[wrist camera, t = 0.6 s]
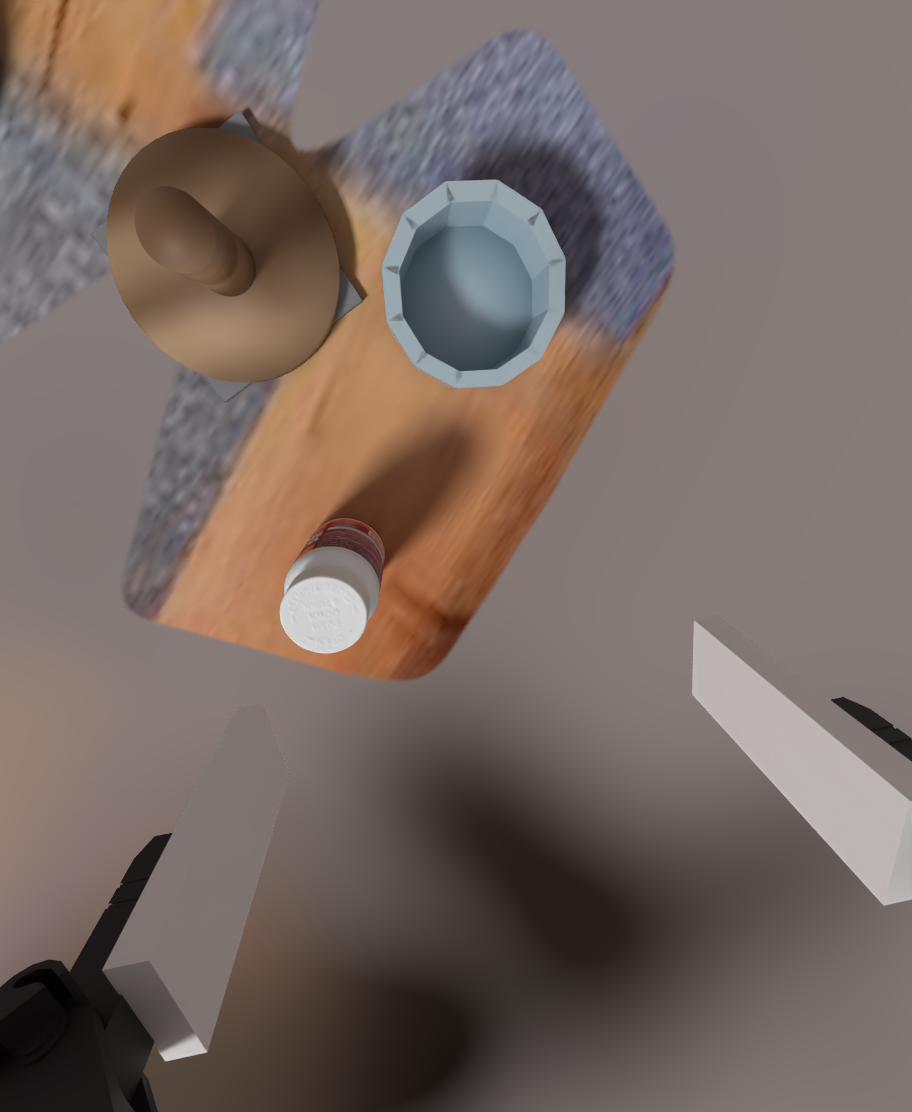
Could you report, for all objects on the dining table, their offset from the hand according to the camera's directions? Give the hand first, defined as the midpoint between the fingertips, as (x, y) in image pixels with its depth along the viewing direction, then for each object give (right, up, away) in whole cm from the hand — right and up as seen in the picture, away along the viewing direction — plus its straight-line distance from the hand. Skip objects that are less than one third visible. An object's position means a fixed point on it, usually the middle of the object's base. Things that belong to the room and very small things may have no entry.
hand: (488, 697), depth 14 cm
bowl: (0, +22, +19) cm, 29 cm away
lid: (-16, +23, +17) cm, 32 cm away
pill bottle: (-10, +5, +24) cm, 27 cm away
